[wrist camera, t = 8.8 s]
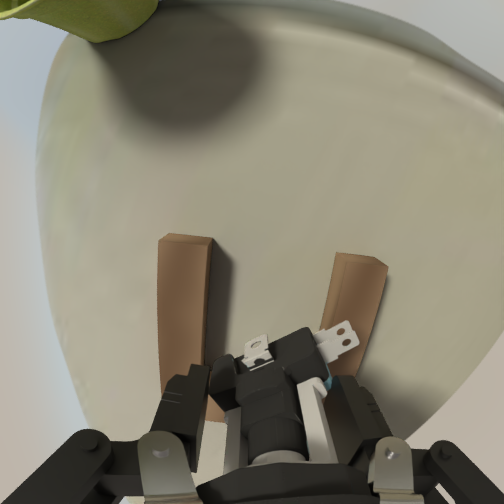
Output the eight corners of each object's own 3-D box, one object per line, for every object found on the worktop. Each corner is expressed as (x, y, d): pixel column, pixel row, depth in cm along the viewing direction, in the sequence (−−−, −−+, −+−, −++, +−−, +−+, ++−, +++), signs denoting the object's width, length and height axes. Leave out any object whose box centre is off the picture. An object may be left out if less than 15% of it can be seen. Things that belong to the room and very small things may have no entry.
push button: (325, 273, 12) (460, 484, 2) (364, 360, 13) (448, 529, 3) (191, 339, 13) (123, 548, 3) (247, 411, 14) (244, 584, 4)
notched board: (374, 257, 16) (388, 266, 14) (329, 408, 19) (334, 425, 17) (169, 233, 16) (158, 240, 14) (169, 395, 19) (163, 413, 17)
